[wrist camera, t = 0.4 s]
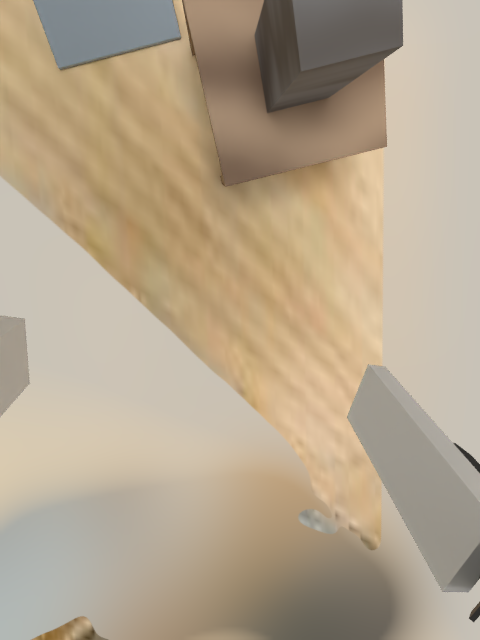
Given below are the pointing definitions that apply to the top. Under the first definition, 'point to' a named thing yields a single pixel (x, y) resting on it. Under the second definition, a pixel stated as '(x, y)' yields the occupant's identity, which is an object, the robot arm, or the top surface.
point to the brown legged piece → (292, 79)
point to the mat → (104, 27)
